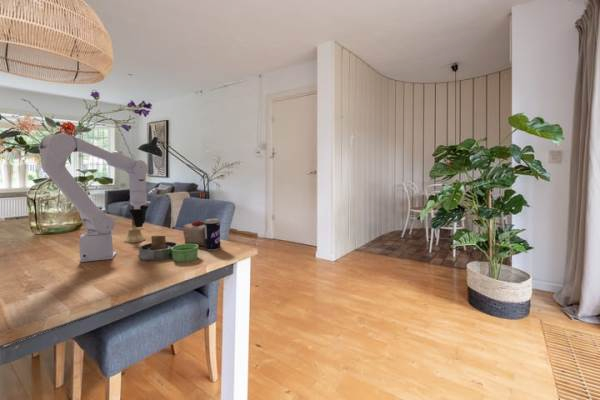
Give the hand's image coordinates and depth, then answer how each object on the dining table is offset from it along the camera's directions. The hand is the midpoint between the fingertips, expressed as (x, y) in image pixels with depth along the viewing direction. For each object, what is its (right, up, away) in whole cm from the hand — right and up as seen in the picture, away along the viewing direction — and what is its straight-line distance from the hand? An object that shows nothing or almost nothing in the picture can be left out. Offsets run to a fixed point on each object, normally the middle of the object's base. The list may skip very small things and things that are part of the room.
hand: (140, 225), depth 116 cm
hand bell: (-10, -8, +14) cm, 19 cm away
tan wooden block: (+11, -10, -8) cm, 17 cm away
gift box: (+21, -9, +8) cm, 24 cm away
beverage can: (+29, -10, -1) cm, 31 cm away
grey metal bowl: (+12, -10, -8) cm, 18 cm away
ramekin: (+23, -11, -12) cm, 28 cm away
